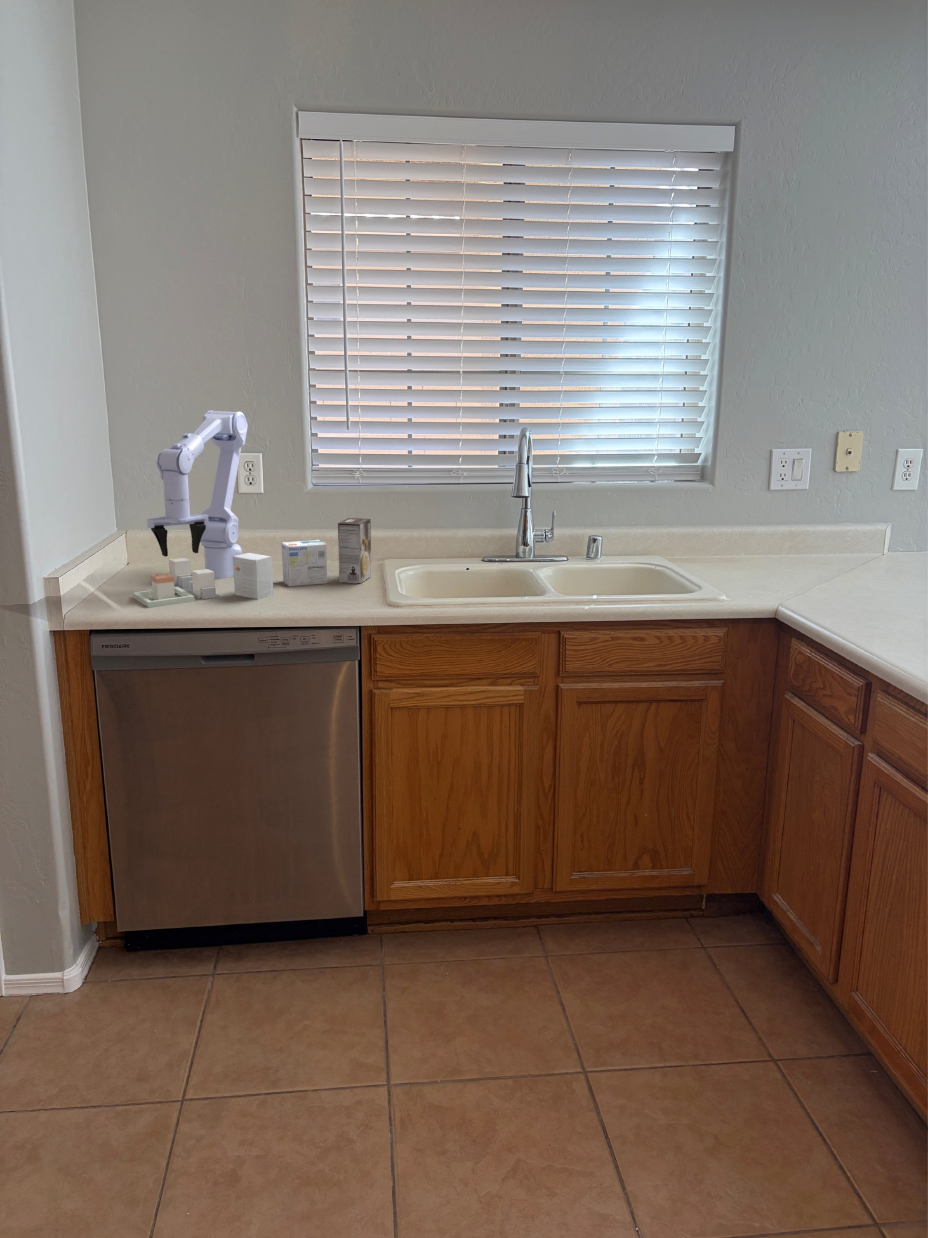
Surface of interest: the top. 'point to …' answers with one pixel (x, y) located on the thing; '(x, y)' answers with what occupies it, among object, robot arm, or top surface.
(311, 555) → the light bulb box
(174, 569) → the block
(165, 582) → the block
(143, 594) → the tray
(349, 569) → the coffee box
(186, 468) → the robot arm
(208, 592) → the fuse holder
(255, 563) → the small box
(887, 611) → the top surface
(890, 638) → the top surface
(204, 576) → the block
